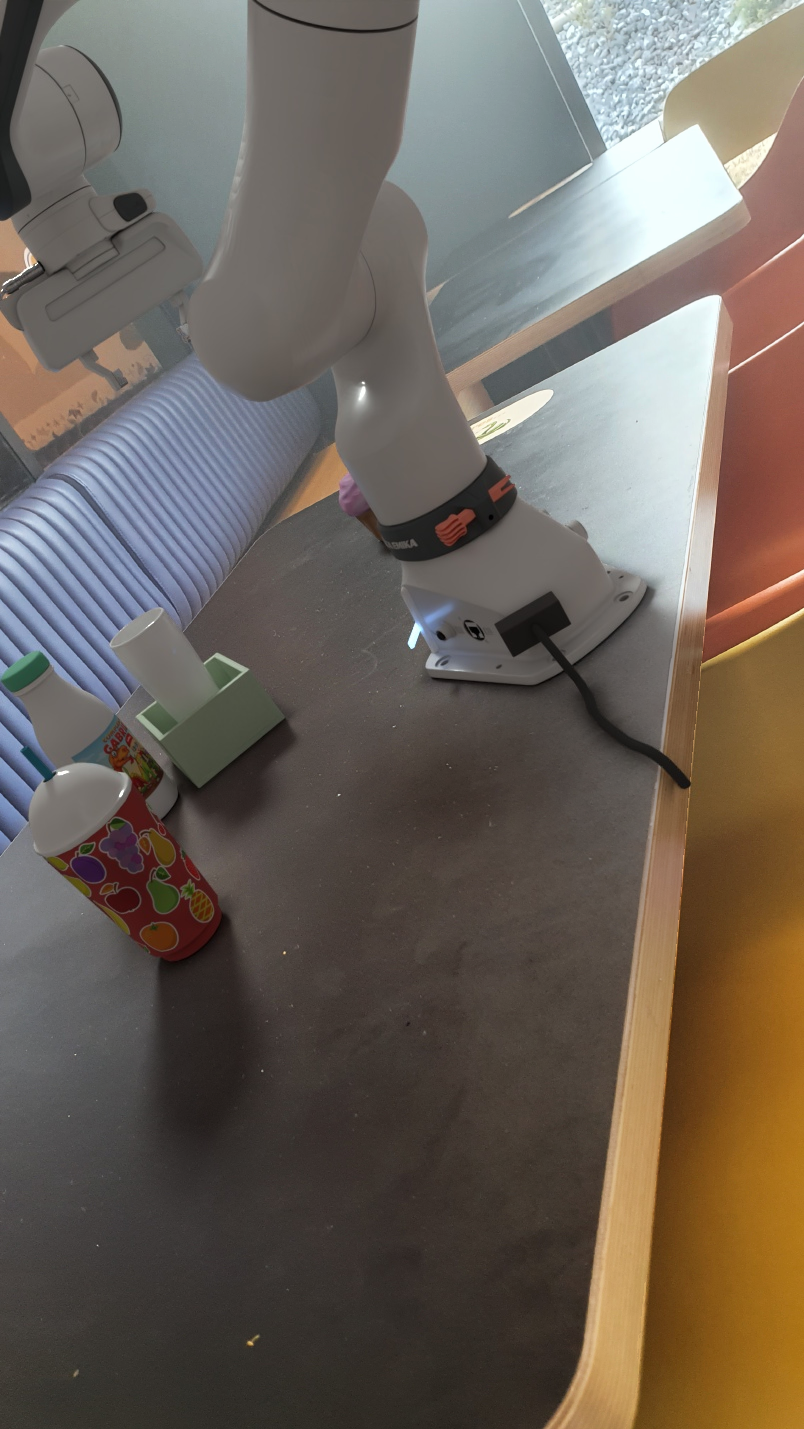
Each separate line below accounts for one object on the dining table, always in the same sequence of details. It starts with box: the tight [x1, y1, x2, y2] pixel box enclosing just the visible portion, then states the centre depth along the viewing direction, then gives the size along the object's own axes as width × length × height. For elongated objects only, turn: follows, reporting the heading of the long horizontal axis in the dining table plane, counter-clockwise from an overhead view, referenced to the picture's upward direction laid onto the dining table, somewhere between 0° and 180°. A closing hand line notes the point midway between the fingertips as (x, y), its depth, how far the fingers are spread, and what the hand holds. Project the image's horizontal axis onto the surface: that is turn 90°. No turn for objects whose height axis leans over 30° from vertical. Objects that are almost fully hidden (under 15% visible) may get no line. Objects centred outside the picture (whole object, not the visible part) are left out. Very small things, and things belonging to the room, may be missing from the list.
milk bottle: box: [0, 650, 179, 821], centre depth 95 cm, size 8×8×20 cm
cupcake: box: [338, 472, 384, 542], centre depth 129 cm, size 9×9×10 cm
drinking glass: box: [108, 607, 220, 723], centre depth 100 cm, size 7×7×15 cm
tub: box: [135, 652, 286, 789], centre depth 103 cm, size 11×11×7 cm
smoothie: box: [19, 745, 222, 962], centre depth 72 cm, size 8×8×20 cm
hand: (157, 363), depth 103 cm, fingers open, 8 cm apart
